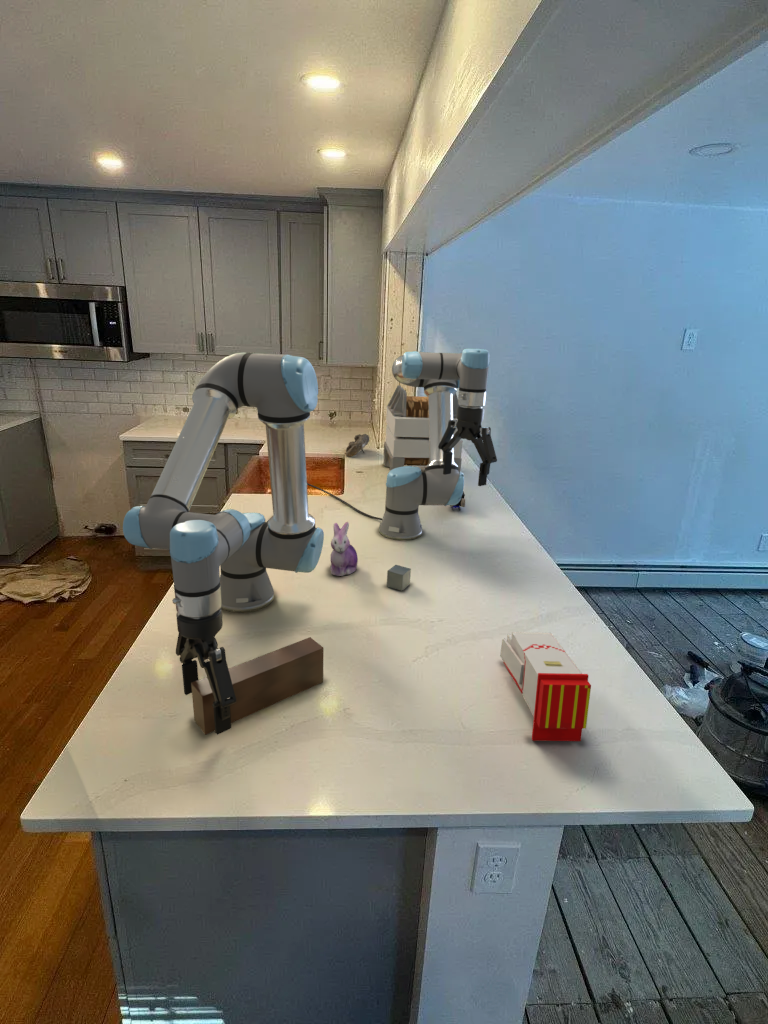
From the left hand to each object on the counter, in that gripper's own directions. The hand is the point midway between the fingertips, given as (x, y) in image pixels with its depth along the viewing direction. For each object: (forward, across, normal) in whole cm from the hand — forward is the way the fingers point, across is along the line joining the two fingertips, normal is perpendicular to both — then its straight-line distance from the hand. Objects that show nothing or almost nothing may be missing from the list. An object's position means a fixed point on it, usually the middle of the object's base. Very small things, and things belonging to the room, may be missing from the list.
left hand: (206, 710), depth 105 cm
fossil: (+3, -150, +153) cm, 214 cm away
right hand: (-26, -19, +89) cm, 95 cm away
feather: (+3, -90, +67) cm, 112 cm away
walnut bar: (+3, 0, +11) cm, 12 cm away
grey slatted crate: (+3, -103, +154) cm, 186 cm away
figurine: (+3, -38, +60) cm, 71 cm away
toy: (+3, +33, +57) cm, 66 cm away
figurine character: (+3, -59, +132) cm, 145 cm away
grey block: (+3, -21, +67) cm, 70 cm away
